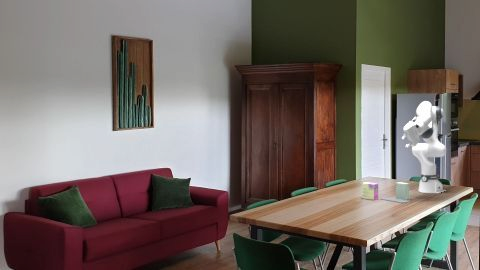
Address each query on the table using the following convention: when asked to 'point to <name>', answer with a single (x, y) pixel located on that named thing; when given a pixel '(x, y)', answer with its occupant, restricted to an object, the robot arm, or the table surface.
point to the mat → (395, 200)
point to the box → (370, 191)
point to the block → (402, 191)
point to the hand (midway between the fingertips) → (404, 143)
